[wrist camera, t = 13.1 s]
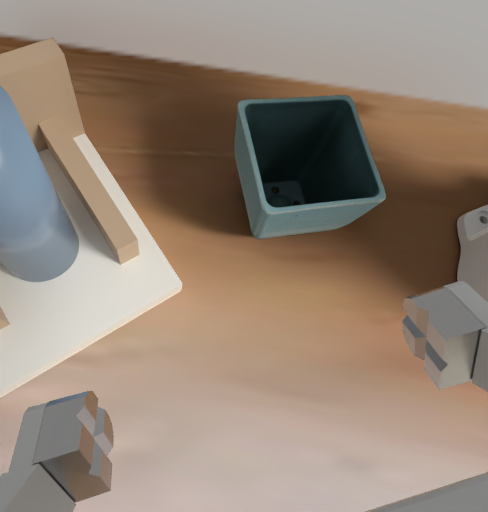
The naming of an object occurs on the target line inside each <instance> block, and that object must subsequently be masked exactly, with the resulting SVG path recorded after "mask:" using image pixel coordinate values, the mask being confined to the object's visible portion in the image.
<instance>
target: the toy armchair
mask: <svg viewBox="0 0 488 512" xmlns="http://www.w3.org/2000/svg"><path fill="white" fill-rule="evenodd" d="M0 86H1V87H2V88H3V89H4V90H5V91H6V92H7V93H8V94H9V96H10V97H11V99H12V101H13V103H14V105H15V107H16V109H17V111H18V113H19V115H20V117H21V119H22V121H23V123H24V125H25V127H26V130H27V132H28V134H29V136H30V138H31V140H32V142H33V144H34V146H35V148H36V150H37V152H38V154H39V156H40V158H41V160H42V162H43V164H44V167H45V169H46V171H47V173H48V175H49V177H50V179H51V181H52V183H53V185H54V187H55V189H56V191H57V193H58V195H59V197H60V199H61V202H62V204H63V206H64V208H65V210H66V212H67V214H68V216H69V218H70V220H71V222H72V224H73V226H74V228H75V230H76V232H77V235H78V238H79V251H78V255H77V257H76V260H75V261H74V263H73V264H72V266H71V267H70V268H69V269H68V270H67V271H66V272H64V273H63V274H62V275H60V276H58V277H56V278H54V279H52V280H48V281H44V282H28V281H24V280H21V279H19V278H17V277H15V276H13V275H12V274H11V273H9V272H8V271H7V270H6V269H5V268H4V267H3V266H2V265H1V264H0V398H1V397H3V396H5V395H6V394H8V393H10V392H11V391H13V390H15V389H16V388H18V387H20V386H22V385H23V384H25V383H27V382H28V381H30V380H32V379H33V378H35V377H37V376H38V375H40V374H42V373H43V372H45V371H47V370H49V369H50V368H52V367H54V366H55V365H57V364H59V363H60V362H62V361H64V360H65V359H67V358H69V357H70V356H72V355H74V354H76V353H77V352H79V351H81V350H82V349H84V348H86V347H87V346H89V345H91V344H92V343H94V342H96V341H97V340H99V339H101V338H103V337H104V336H106V335H108V334H109V333H111V332H113V331H114V330H116V329H118V328H119V327H121V326H123V325H124V324H126V323H128V322H130V321H131V320H133V319H135V318H136V317H138V316H140V315H141V314H143V313H145V312H146V311H148V310H150V309H151V308H153V307H155V306H157V305H158V304H160V303H162V302H163V301H165V300H167V299H168V298H170V297H172V296H173V295H175V294H177V293H179V292H180V291H181V289H182V282H181V281H180V279H179V278H178V276H177V275H176V273H175V271H174V270H173V268H172V267H171V265H170V264H169V262H168V261H167V259H166V258H165V256H164V254H163V253H162V251H161V250H160V248H159V247H158V245H157V244H156V242H155V241H154V239H153V238H152V236H151V234H150V233H149V231H148V230H147V228H146V227H145V225H144V224H143V222H142V221H141V219H140V217H139V216H138V214H137V213H136V211H135V210H134V208H133V207H132V205H131V204H130V202H129V200H128V199H127V197H126V196H125V194H124V193H123V191H122V190H121V188H120V187H119V185H118V183H117V182H116V180H115V179H114V177H113V176H112V174H111V173H110V171H109V170H108V168H107V167H106V165H105V163H104V162H103V160H102V159H101V157H100V156H99V154H98V153H97V151H96V150H95V148H94V146H93V145H92V143H91V142H90V140H89V139H88V137H87V136H86V134H85V132H84V128H83V124H82V120H81V116H80V112H79V109H78V105H77V101H76V97H75V93H74V90H73V86H72V82H71V78H70V74H69V70H68V67H67V63H66V59H65V55H64V53H63V52H62V50H61V49H60V47H59V46H58V44H57V43H56V41H55V40H54V38H50V39H47V40H44V41H40V42H37V43H34V44H31V45H28V46H25V47H22V48H18V49H15V50H12V51H9V52H6V53H3V54H0Z"/></svg>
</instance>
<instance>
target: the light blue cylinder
mask: <svg viewBox="0 0 488 512" xmlns="http://www.w3.org/2000/svg"><path fill="white" fill-rule="evenodd" d="M78 251H79V238H78V235H77V232H76V230H75V228H74V226H73V224H72V222H71V220H70V218H69V216H68V214H67V212H66V210H65V208H64V206H63V204H62V202H61V199H60V197H59V195H58V193H57V191H56V189H55V187H54V185H53V183H52V181H51V179H50V177H49V175H48V173H47V171H46V169H45V167H44V164H43V162H42V160H41V158H40V156H39V154H38V152H37V150H36V148H35V146H34V144H33V142H32V140H31V138H30V136H29V134H28V132H27V130H26V127H25V125H24V123H23V121H22V119H21V117H20V115H19V113H18V111H17V109H16V107H15V105H14V103H13V101H12V99H11V97H10V96H9V94H8V93H7V92H6V91H5V90H4V89H3V88H2V87H1V86H0V264H1V265H2V266H3V267H4V268H5V269H6V270H7V271H8V272H9V273H11V274H12V275H13V276H15V277H17V278H19V279H21V280H24V281H28V282H44V281H48V280H52V279H54V278H56V277H58V276H60V275H62V274H63V273H64V272H66V271H67V270H68V269H69V268H70V267H71V266H72V264H73V263H74V261H75V260H76V257H77V255H78Z"/></svg>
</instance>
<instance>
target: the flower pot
mask: <svg viewBox="0 0 488 512" xmlns="http://www.w3.org/2000/svg"><path fill="white" fill-rule="evenodd" d="M234 150H235V160H236V165H237V170H238V174H239V178H240V182H241V187H242V191H243V195H244V200H245V204H246V209H247V213H248V218H249V222H250V227H251V232H252V235H253V236H254V237H255V238H256V239H266V238H273V237H281V236H289V235H297V234H305V233H313V232H322V231H329V230H334V229H338V228H341V227H343V226H346V225H348V224H350V223H351V222H353V221H354V220H356V219H358V218H359V217H361V216H362V215H364V214H365V213H367V212H368V211H369V210H371V209H372V208H374V207H375V206H377V205H378V204H380V203H381V202H383V201H384V200H385V199H386V193H385V189H384V186H383V184H382V181H381V178H380V175H379V172H378V170H377V167H376V164H375V162H374V159H373V156H372V153H371V150H370V147H369V145H368V142H367V139H366V137H365V133H364V131H363V128H362V125H361V122H360V119H359V116H358V113H357V109H356V106H355V103H354V101H353V100H352V98H351V97H350V96H348V95H334V96H318V97H317V96H316V97H297V98H279V99H276V98H274V99H246V100H242V101H239V102H238V106H237V118H236V131H235V145H234ZM273 189H277V190H278V193H273V191H272V190H273ZM294 203H298V204H299V205H295V206H294Z"/></svg>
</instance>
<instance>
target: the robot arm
mask: <svg viewBox="0 0 488 512" xmlns="http://www.w3.org/2000/svg"><path fill="white" fill-rule="evenodd" d="M480 220H481V221H482V223H481V221H480ZM457 230H458V236H459V240H460V245H461V255H460V260H459V265H458V272H457V282H455V283H452V284H448V285H445V286H442V287H438V288H435V289H432V290H428V291H425V292H422V293H419V294H415V295H412V296H409V297H405V299H404V301H403V310H404V311H405V312H406V314H407V316H406V317H405V319H404V320H403V321H402V324H403V334H404V337H405V341H406V343H407V345H408V347H409V349H410V350H411V351H412V353H413V354H414V356H416V357H418V358H420V359H423V360H425V362H424V370H425V371H426V373H427V374H428V375H429V377H430V378H431V379H432V381H433V382H434V384H435V385H436V386H437V388H438V389H439V390H440V389H443V388H447V387H450V386H454V385H458V384H461V383H465V382H468V381H472V383H474V384H475V385H477V386H479V387H480V388H482V389H484V390H486V391H487V392H488V205H486V206H483V207H480V208H478V209H475V210H472V211H470V212H468V213H466V214H463V215H462V216H460V217H459V218H458V220H457ZM97 405H98V398H97V397H96V395H95V394H94V393H93V391H87V392H83V393H80V394H76V395H72V396H68V397H65V398H61V399H57V400H53V401H50V402H47V403H43V404H40V405H36V406H32V407H29V408H28V409H27V410H26V412H25V413H24V416H23V420H22V423H21V427H20V431H19V435H18V438H17V442H16V446H15V450H14V453H13V457H12V461H11V465H10V468H9V472H8V473H5V474H2V475H1V476H0V512H72V511H73V510H74V508H75V506H76V504H75V503H76V502H79V501H82V500H85V499H87V498H90V497H93V496H96V495H99V494H102V493H105V492H108V491H111V475H112V463H111V462H110V460H109V459H108V457H107V455H108V454H109V452H110V451H111V449H112V448H113V437H114V436H113V429H112V423H111V420H110V418H109V415H108V414H107V412H106V411H105V410H104V409H102V408H99V407H97ZM366 512H488V472H487V473H484V474H481V475H478V476H475V477H472V478H468V479H465V480H462V481H459V482H456V483H453V484H450V485H447V486H444V487H440V488H437V489H434V490H431V491H428V492H425V493H422V494H419V495H415V496H412V497H409V498H406V499H403V500H400V501H397V502H394V503H390V504H387V505H384V506H381V507H378V508H375V509H372V510H369V511H366Z"/></svg>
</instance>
